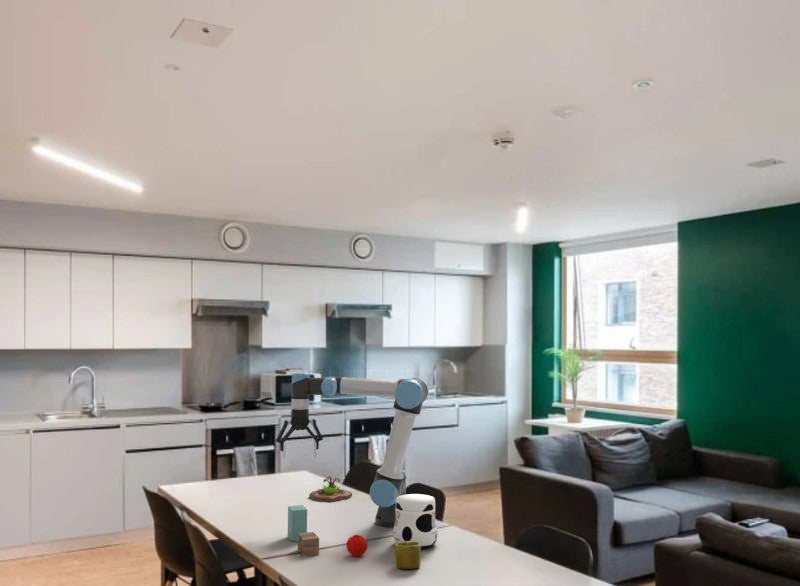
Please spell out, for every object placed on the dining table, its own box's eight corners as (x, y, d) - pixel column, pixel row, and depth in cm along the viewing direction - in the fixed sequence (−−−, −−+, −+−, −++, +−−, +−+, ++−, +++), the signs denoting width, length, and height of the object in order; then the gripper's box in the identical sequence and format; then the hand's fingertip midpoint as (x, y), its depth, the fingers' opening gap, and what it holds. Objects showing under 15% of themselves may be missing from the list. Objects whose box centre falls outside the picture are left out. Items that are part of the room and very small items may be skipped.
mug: (422, 567, 242) (415, 537, 245) (394, 575, 243) (387, 545, 246) (430, 564, 253) (423, 535, 256) (403, 571, 255) (396, 542, 258)
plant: (302, 498, 354) (302, 476, 355) (327, 492, 371) (327, 470, 371) (333, 504, 343) (333, 481, 344) (357, 497, 360) (357, 474, 360)
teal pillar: (306, 540, 280) (307, 509, 281) (291, 541, 278) (292, 510, 278) (302, 534, 287) (302, 505, 288) (287, 536, 285) (288, 506, 286)
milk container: (386, 541, 280) (387, 495, 281) (426, 537, 286) (426, 492, 287) (403, 553, 264) (403, 504, 265) (444, 548, 270) (444, 501, 271)
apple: (347, 552, 265) (347, 532, 265) (368, 552, 265) (368, 532, 265) (345, 558, 257) (345, 538, 257) (366, 559, 257) (366, 538, 257)
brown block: (319, 554, 262) (319, 538, 262) (303, 556, 260) (303, 539, 260) (313, 547, 270) (313, 531, 271) (297, 549, 268) (297, 533, 268)
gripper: (325, 406, 314) (325, 454, 313) (269, 408, 305) (268, 458, 304) (330, 408, 307) (329, 457, 306) (273, 410, 298) (272, 460, 297)
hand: (299, 457), depth 305 cm, fingers open, 13 cm apart
